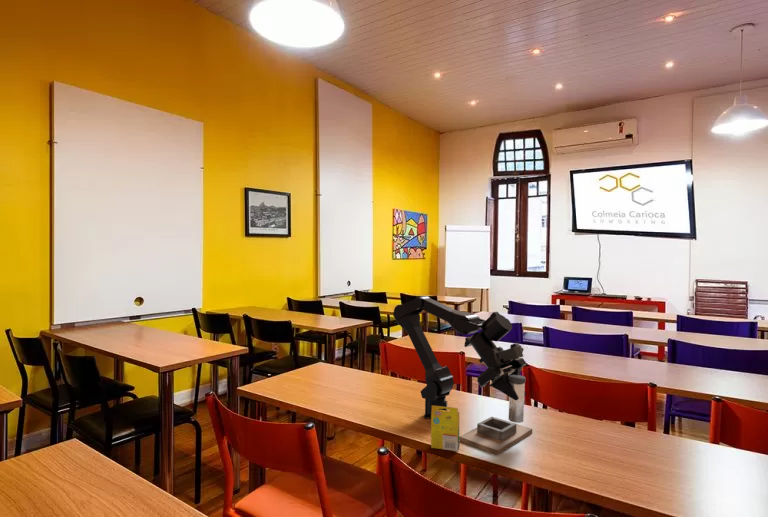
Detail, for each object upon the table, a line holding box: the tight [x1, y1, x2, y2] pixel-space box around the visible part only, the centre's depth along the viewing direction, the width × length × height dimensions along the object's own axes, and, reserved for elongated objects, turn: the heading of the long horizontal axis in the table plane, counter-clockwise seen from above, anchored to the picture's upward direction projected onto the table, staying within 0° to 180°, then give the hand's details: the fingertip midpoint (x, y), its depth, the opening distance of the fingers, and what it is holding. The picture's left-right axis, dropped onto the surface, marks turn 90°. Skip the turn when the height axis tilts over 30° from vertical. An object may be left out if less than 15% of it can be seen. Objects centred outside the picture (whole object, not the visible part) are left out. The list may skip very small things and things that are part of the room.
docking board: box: [459, 416, 533, 456], centre depth 127 cm, size 12×20×4 cm, turn 136°
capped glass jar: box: [508, 374, 527, 424], centre depth 123 cm, size 4×4×12 cm
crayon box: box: [430, 405, 460, 453], centre depth 120 cm, size 7×3×12 cm, turn 72°
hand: (521, 397), depth 122 cm, fingers closed on capped glass jar, 4 cm apart
